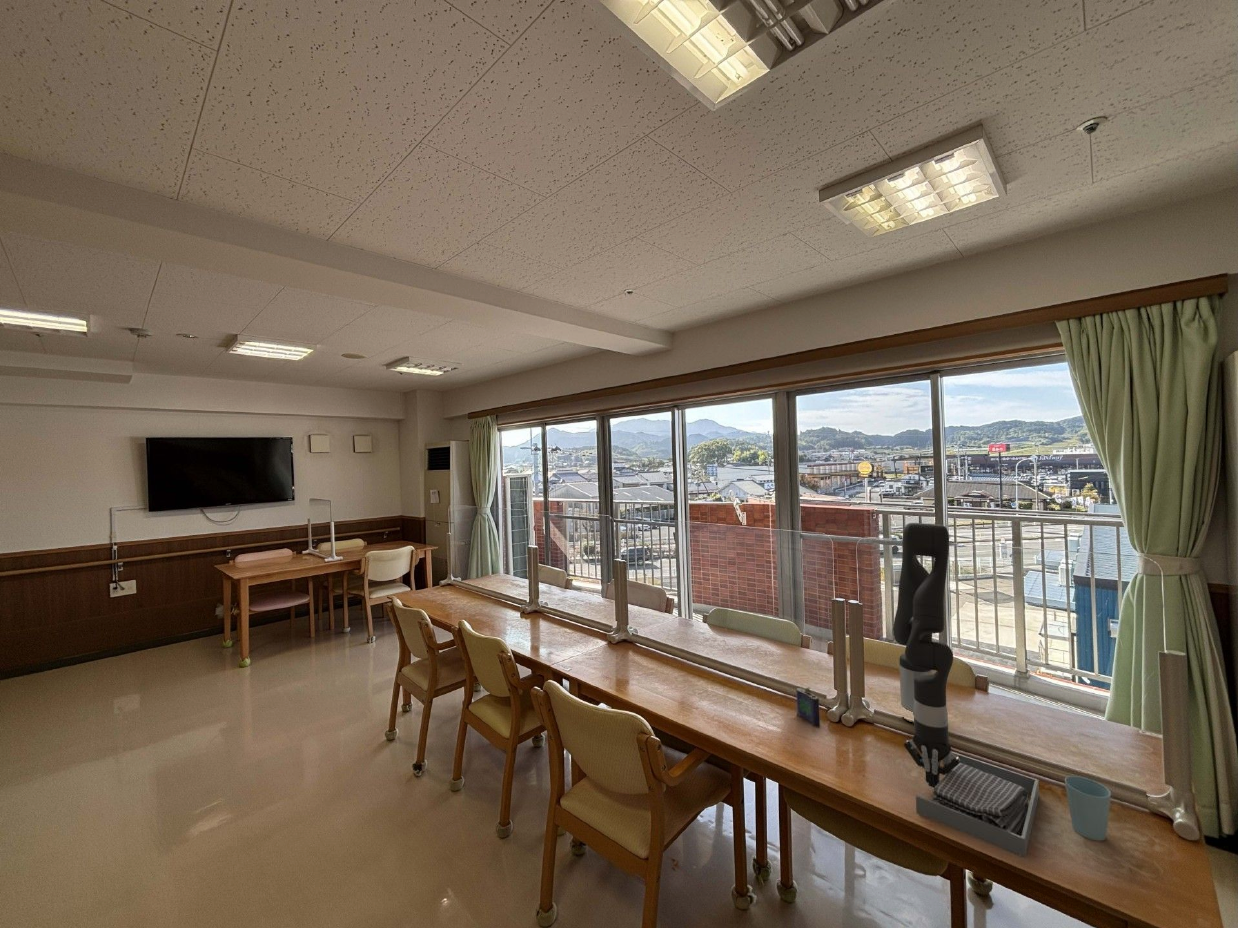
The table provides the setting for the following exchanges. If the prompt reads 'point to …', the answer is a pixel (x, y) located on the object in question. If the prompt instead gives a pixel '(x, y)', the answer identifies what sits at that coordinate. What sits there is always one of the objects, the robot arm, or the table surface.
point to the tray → (982, 828)
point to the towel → (983, 797)
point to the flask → (808, 706)
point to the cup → (1088, 806)
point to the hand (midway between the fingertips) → (932, 785)
